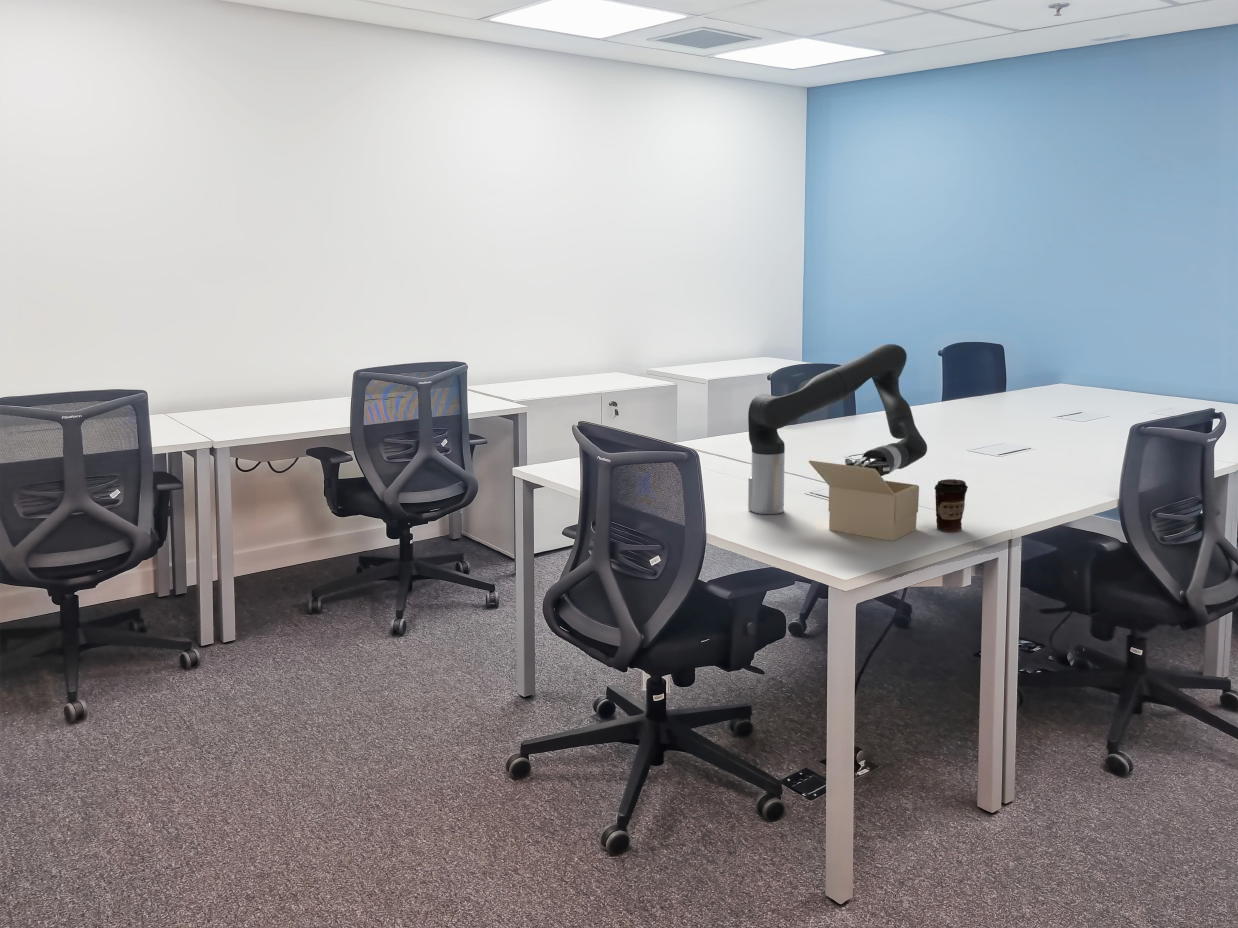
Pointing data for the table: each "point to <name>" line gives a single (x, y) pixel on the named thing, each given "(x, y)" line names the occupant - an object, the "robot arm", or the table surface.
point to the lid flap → (852, 477)
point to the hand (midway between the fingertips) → (851, 472)
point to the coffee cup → (950, 504)
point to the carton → (874, 511)
